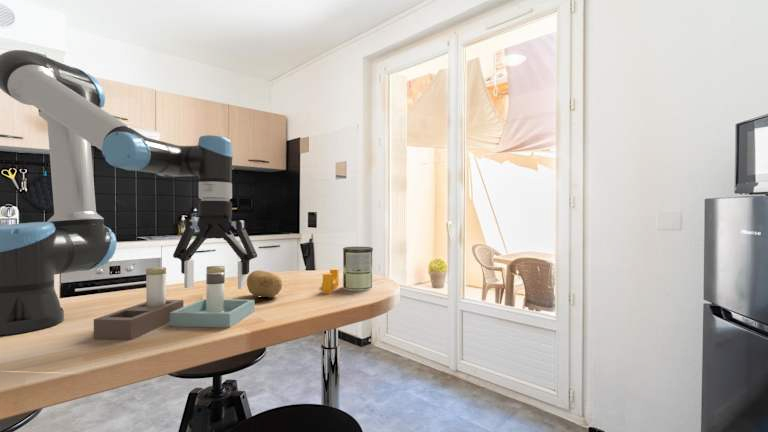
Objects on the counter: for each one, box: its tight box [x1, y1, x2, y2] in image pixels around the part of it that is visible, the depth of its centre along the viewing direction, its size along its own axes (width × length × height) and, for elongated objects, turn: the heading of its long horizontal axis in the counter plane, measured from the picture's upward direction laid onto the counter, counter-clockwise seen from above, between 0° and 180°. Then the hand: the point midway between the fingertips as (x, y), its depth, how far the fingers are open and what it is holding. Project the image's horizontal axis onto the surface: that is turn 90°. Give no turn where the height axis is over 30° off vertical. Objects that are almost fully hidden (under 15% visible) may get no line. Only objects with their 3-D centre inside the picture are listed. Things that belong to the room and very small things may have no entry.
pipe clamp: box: [321, 268, 339, 294], centre depth 128 cm, size 12×4×6 cm, turn 175°
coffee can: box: [342, 246, 374, 292], centre depth 131 cm, size 10×10×14 cm
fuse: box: [145, 266, 167, 307], centre depth 91 cm, size 4×4×12 cm
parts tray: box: [169, 298, 256, 329], centre depth 93 cm, size 14×14×3 cm
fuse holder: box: [93, 299, 184, 341], centre depth 86 cm, size 8×18×4 cm, turn 177°
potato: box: [246, 270, 283, 299], centre depth 116 cm, size 10×14×8 cm
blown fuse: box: [205, 265, 226, 313], centre depth 93 cm, size 4×4×12 cm
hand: (215, 287), depth 93 cm, fingers open, 13 cm apart
